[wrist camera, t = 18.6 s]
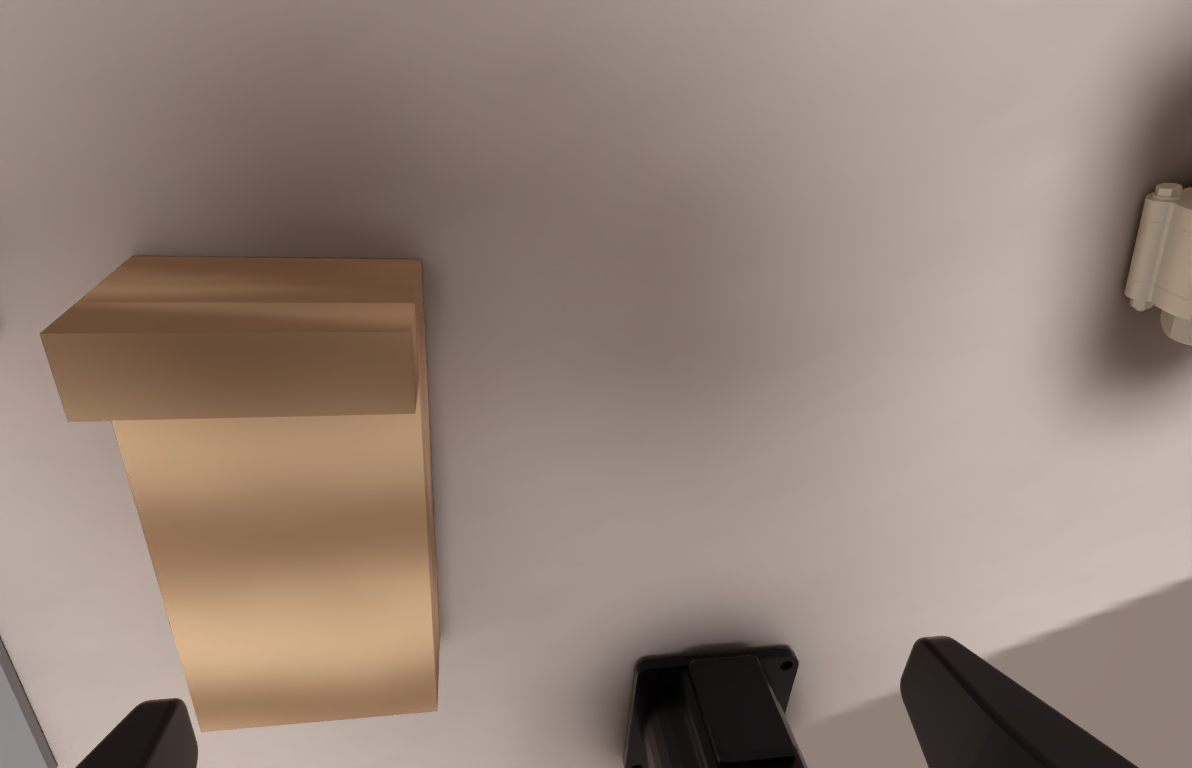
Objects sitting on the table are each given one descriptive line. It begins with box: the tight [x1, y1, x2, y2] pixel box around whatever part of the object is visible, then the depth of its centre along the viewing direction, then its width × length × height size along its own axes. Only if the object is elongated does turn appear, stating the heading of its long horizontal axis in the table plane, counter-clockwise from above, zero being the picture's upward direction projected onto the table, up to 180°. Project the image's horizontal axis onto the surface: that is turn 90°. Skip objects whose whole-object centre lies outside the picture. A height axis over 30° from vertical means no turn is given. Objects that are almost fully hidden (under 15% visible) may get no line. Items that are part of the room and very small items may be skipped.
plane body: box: [40, 256, 440, 732], centre depth 20 cm, size 14×7×5 cm, turn 176°
